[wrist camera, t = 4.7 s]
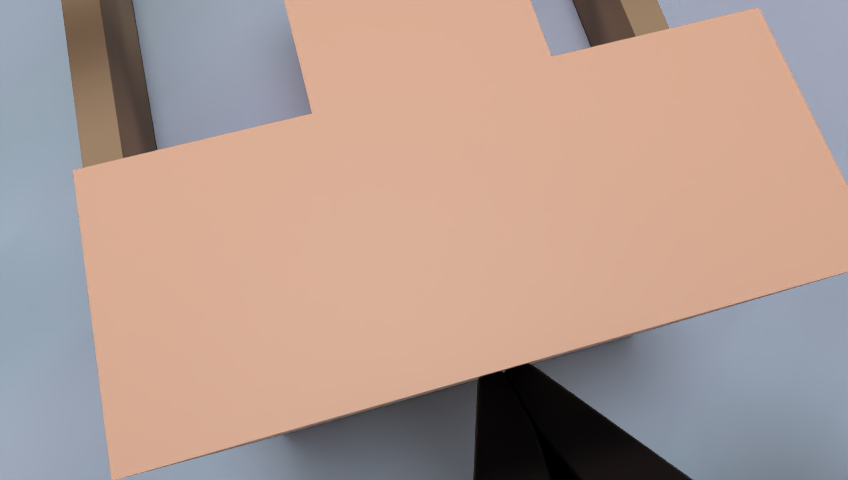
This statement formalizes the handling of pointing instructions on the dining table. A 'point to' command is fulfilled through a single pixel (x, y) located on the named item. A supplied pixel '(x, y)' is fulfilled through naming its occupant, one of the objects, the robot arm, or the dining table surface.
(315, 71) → the t block
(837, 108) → the dining table surface
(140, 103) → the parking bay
